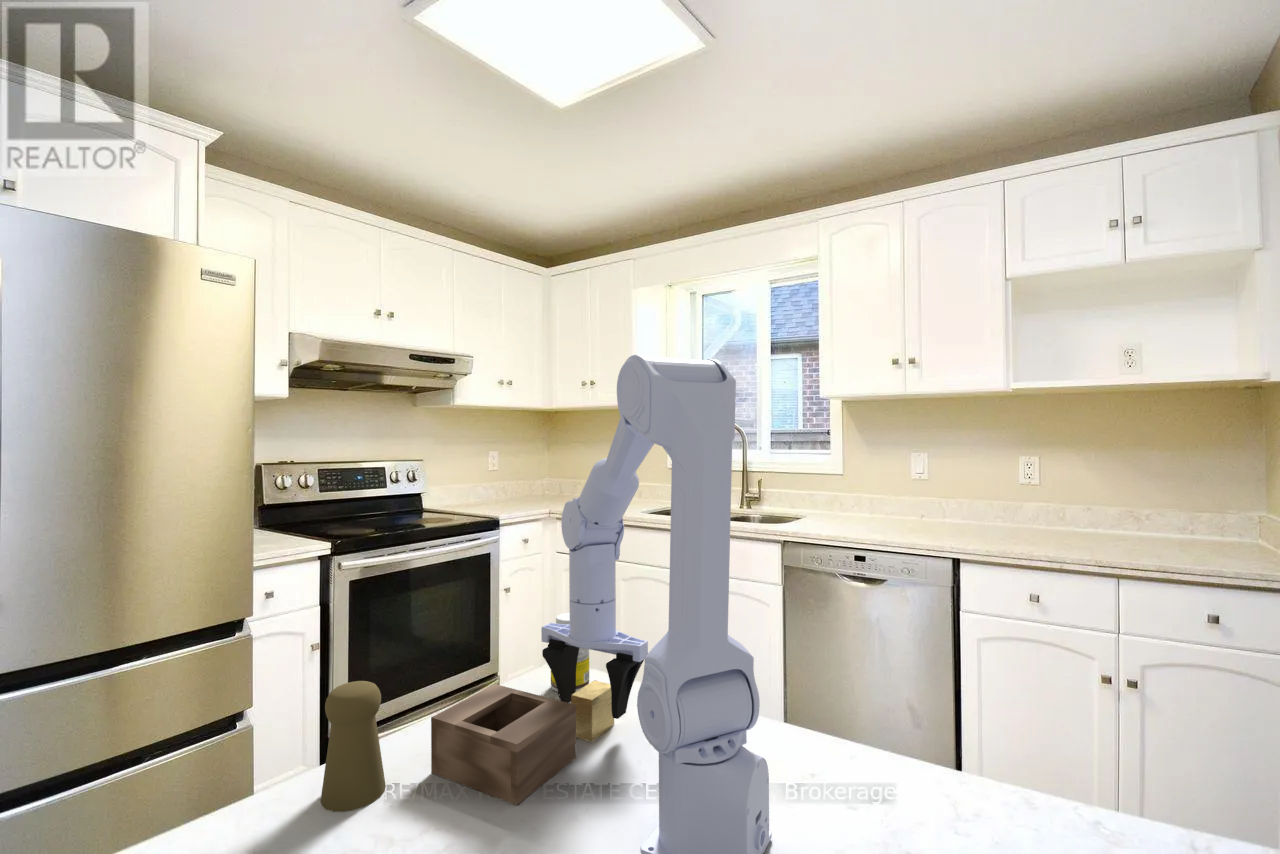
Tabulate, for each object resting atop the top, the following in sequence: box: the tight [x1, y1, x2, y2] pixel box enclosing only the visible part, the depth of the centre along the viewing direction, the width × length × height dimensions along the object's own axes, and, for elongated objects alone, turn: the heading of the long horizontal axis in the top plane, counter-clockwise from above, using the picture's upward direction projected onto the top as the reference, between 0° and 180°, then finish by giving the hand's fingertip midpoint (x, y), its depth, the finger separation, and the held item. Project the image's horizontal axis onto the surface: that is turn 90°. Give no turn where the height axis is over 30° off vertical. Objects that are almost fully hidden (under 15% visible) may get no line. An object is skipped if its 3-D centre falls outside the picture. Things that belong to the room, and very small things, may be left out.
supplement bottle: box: [550, 612, 590, 693], centre depth 89 cm, size 6×6×10 cm
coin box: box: [430, 683, 577, 806], centre depth 68 cm, size 12×10×6 cm
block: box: [570, 680, 615, 743], centre depth 76 cm, size 3×5×5 cm, turn 151°
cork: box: [320, 680, 387, 813], centre depth 63 cm, size 6×6×11 cm
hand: (592, 708), depth 76 cm, fingers open, 7 cm apart
